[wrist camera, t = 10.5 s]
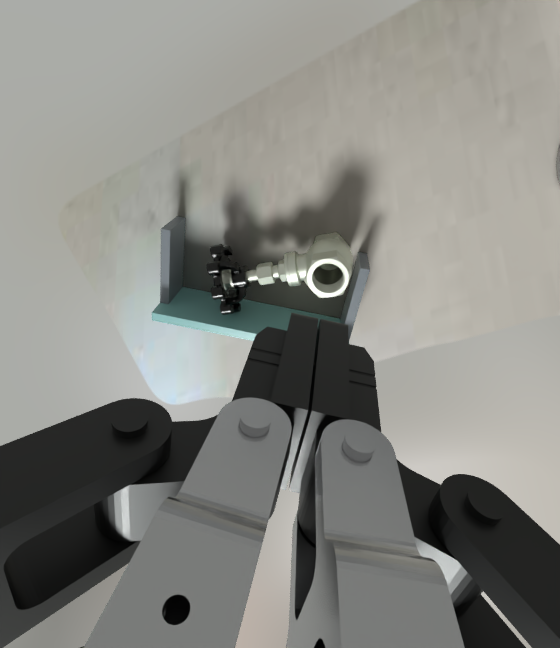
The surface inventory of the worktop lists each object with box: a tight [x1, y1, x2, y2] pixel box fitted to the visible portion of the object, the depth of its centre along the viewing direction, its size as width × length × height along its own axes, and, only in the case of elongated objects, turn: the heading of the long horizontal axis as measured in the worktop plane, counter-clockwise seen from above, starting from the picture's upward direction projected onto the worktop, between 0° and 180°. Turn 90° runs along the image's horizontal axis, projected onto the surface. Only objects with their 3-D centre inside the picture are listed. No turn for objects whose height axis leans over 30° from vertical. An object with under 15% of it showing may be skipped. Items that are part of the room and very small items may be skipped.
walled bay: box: [152, 216, 370, 341], centre depth 37 cm, size 18×8×6 cm, turn 81°
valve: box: [207, 232, 353, 315], centre depth 36 cm, size 7×7×12 cm
